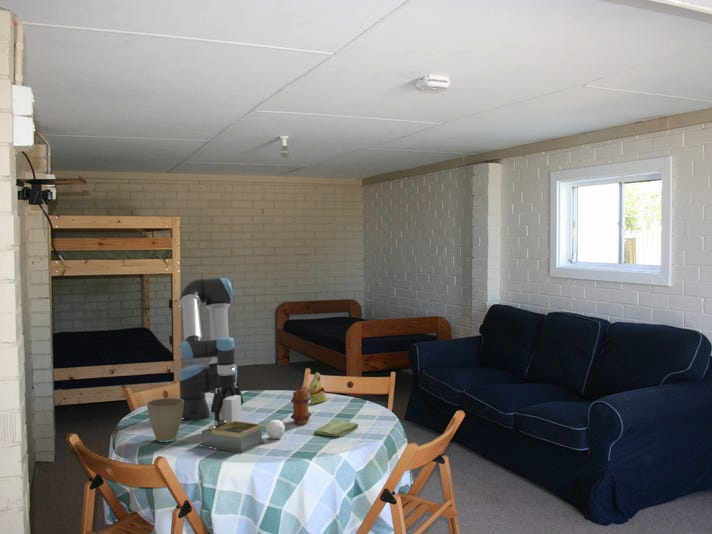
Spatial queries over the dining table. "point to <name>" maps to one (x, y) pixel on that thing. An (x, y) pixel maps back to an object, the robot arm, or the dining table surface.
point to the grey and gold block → (233, 436)
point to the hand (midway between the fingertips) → (228, 424)
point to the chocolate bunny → (316, 390)
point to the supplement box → (231, 409)
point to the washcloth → (336, 428)
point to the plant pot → (165, 417)
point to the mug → (301, 406)
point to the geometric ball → (275, 429)
